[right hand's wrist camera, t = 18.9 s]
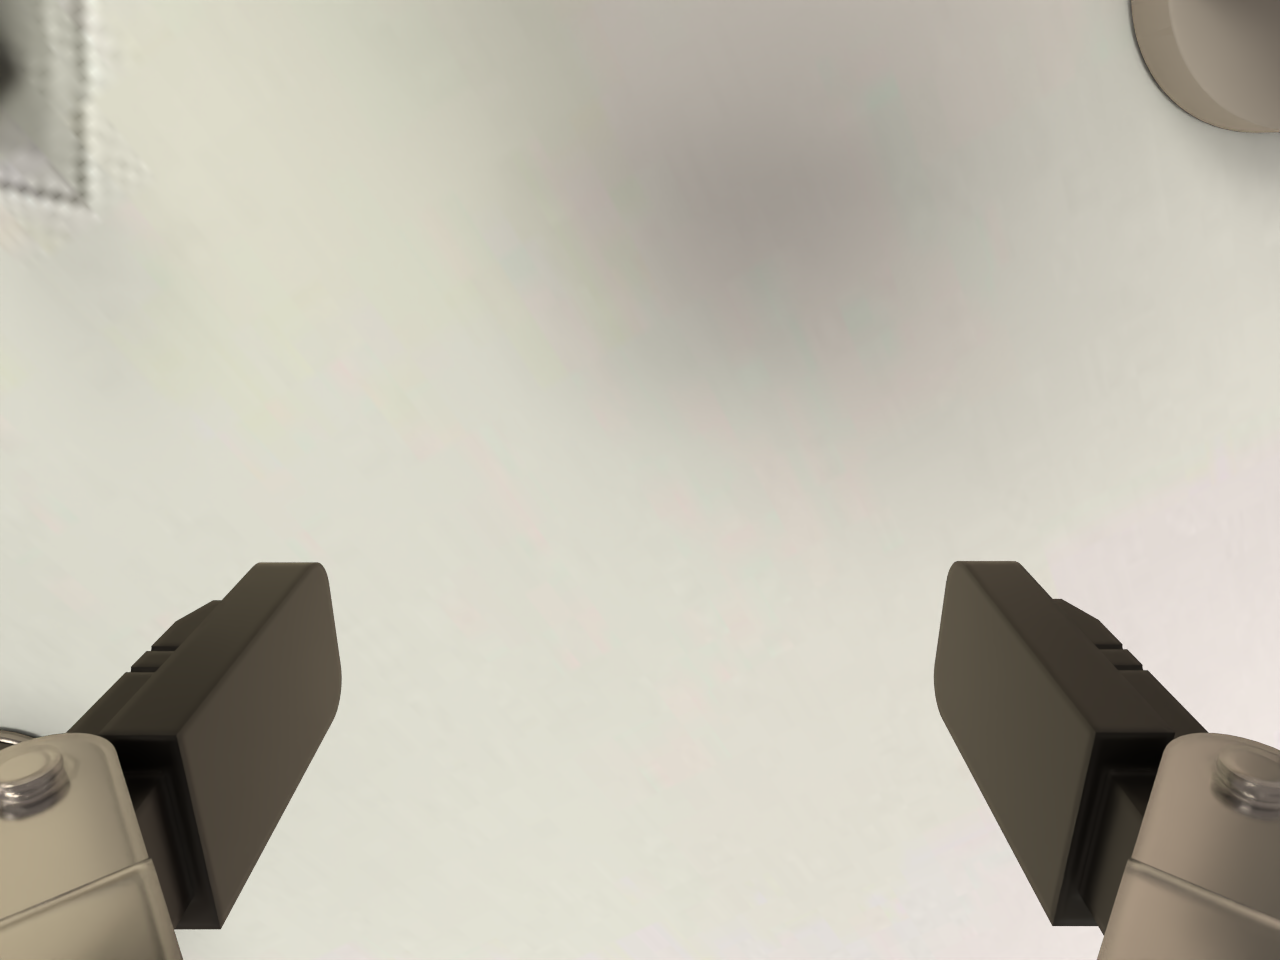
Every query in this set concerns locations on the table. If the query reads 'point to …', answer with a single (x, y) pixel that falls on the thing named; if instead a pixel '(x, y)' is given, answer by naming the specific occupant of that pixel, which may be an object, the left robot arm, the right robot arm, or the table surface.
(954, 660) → the right robot arm
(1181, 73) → the bust sculpture
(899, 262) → the table surface
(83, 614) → the table surface
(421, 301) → the table surface
